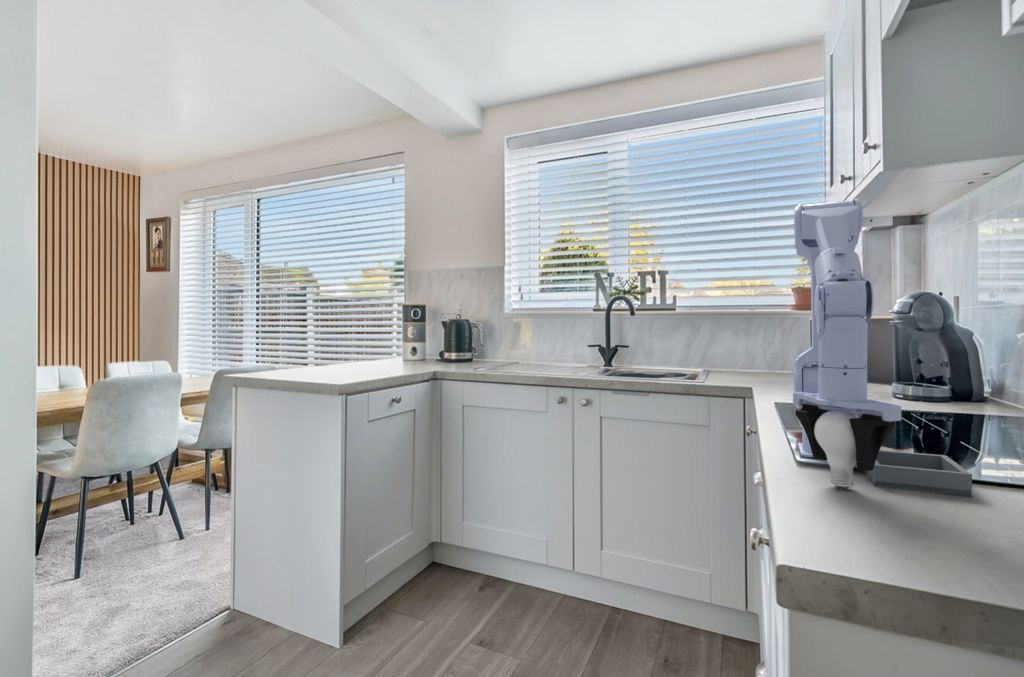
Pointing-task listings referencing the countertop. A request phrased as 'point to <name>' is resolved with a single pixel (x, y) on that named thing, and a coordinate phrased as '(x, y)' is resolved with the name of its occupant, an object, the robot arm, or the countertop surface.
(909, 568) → the countertop surface
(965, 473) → the tray
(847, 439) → the lightbulb
